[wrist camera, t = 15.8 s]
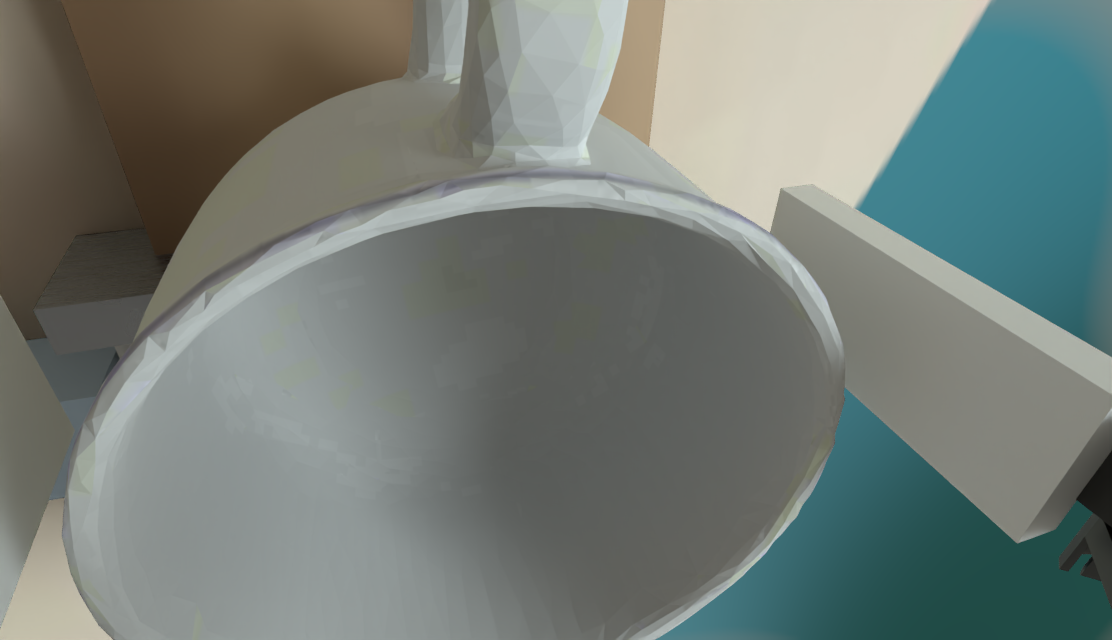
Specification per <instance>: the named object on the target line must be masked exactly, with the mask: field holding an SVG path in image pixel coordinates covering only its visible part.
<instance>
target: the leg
mask: <svg viewBox="0 0 1112 640" xmlns="http://www.w3.org/2000/svg"><path fill="white" fill-rule="evenodd" d="M26 342H27V344H28V346H29V348H30V349H31V351H32V353H33V355H34V357H35V358H36V360H37V362H38V364H39V366H40V368H41V369H42V371H43V373H44V375H45V377H46V378H47V380H48V382H49V384H50V386H51V388H52V389H53V391H54V393H55V395H56V397H57V398H58V400H59V402H60V404H61V406H62V408H63V409H64V411H65V413H66V415H67V417H68V418H69V420H70V422H71V424H72V426H73V428H74V429H75V432H74V434H73V437H72V440H71V442H70V445H69V448H68V450H67V453H66V456H65V458H64V461H63V463H62V466H61V469H60V471H59V474H58V477H57V479H56V482H55V485H54V487H53V490H52V493H51V495H50V498H49V500H53V499H59V498H64V497H65V489H66V479H67V469H68V463H69V460H70V456H71V452H72V449H73V445H74V442H75V439H76V436H77V434H78V432H79V430H80V428H81V426H82V424H83V422H84V420H85V418H86V416H87V414H88V412H89V410H90V408H91V406H92V404H93V402H94V400H95V398H96V396H97V394H98V392H99V390H100V388H101V386H102V384H103V383H104V381H105V379H106V378H107V376H108V375H109V373H110V372H111V370H112V369H113V368H114V366H115V365H116V364H117V362H118V361H119V360H120V358H121V357H122V356H123V354H124V353H125V352H126V350H127V349H128V348H129V346H130V345H131V344H126V345H120V346H113V347H107V348H100V349H94V350H88V351H81V352H75V353H68V354H62V355H56V354H55V352H54V350H53V348H52V346H51V344H50V342H49V340H48V338H40V339H34V340H27V341H26Z"/></svg>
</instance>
